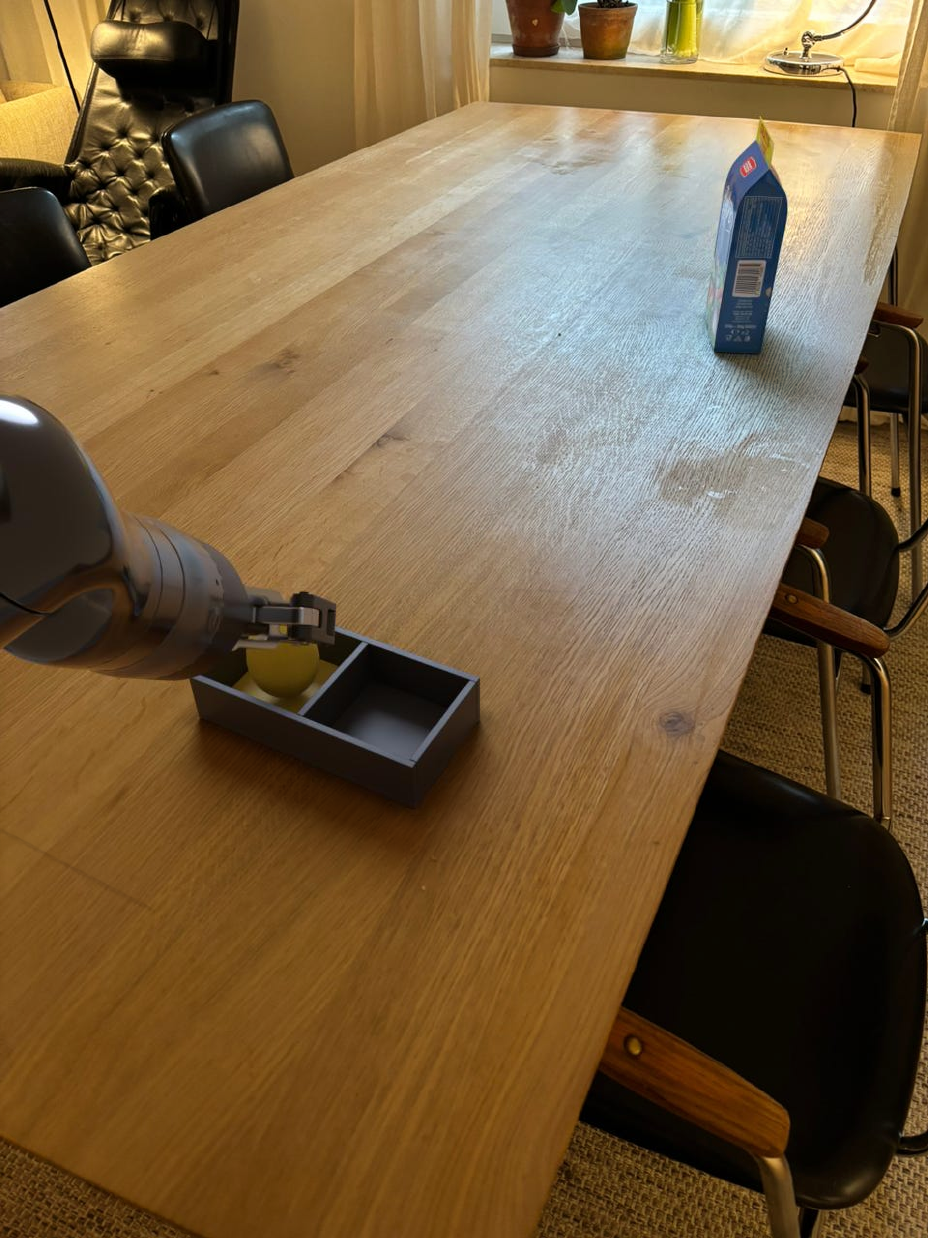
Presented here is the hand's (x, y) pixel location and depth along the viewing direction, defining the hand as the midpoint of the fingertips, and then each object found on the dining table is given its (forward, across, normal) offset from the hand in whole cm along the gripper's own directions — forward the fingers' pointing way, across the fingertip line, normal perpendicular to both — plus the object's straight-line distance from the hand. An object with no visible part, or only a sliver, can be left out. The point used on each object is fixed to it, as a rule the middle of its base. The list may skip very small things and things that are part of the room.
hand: (239, 625), depth 63 cm
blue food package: (+67, -44, -46) cm, 92 cm away
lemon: (+17, 0, +4) cm, 17 cm away
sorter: (+16, -4, +6) cm, 17 cm away
